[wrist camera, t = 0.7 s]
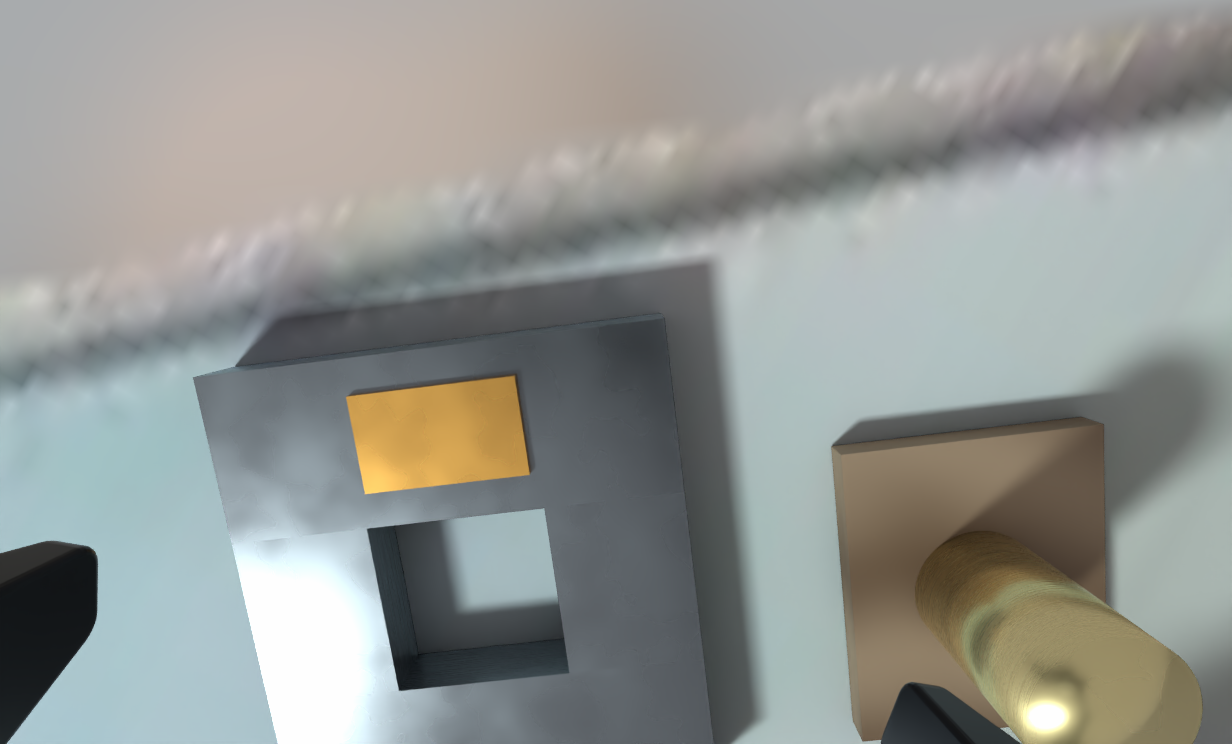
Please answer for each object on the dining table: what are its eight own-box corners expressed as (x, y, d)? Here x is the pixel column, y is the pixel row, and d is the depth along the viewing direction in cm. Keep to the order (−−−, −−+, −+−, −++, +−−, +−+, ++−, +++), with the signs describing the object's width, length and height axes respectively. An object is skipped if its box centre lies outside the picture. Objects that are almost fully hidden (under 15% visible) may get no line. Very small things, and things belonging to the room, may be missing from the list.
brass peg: (1042, 640, 21) (1201, 784, 15) (918, 653, 22) (1027, 801, 16) (1039, 524, 21) (1204, 627, 15) (911, 538, 21) (1022, 646, 15)
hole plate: (713, 760, 23) (721, 810, 21) (329, 798, 24) (299, 851, 22) (660, 312, 21) (664, 318, 19) (233, 367, 21) (188, 378, 19)
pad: (1086, 697, 23) (1106, 717, 22) (852, 720, 23) (862, 741, 22) (1081, 416, 21) (1104, 424, 20) (831, 446, 21) (841, 454, 20)
